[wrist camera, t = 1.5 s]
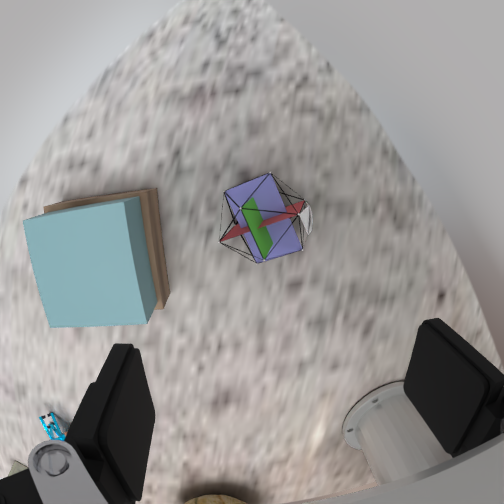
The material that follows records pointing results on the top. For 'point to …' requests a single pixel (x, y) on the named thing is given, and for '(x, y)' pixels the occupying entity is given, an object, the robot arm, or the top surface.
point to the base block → (150, 227)
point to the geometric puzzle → (265, 219)
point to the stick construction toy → (53, 428)
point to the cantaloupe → (215, 500)
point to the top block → (92, 264)
